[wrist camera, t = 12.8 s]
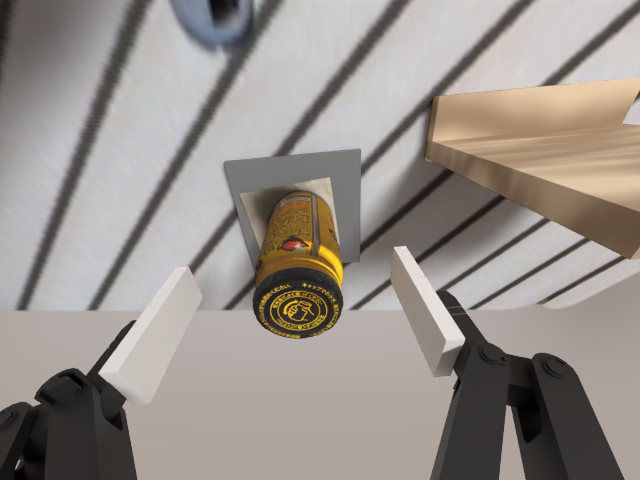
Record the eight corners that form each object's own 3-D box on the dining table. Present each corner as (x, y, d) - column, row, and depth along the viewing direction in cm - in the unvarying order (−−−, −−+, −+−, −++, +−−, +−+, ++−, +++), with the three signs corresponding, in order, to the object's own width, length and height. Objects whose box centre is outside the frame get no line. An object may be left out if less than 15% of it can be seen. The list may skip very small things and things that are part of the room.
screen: (433, 96, 19) (756, 90, 5) (631, 78, 19) (1470, 24, 5) (424, 159, 22) (625, 265, 8) (598, 144, 22) (1104, 222, 8)
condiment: (339, 242, 25) (361, 342, 15) (262, 255, 26) (232, 360, 15) (329, 176, 21) (349, 247, 11) (240, 192, 22) (179, 275, 12)
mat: (225, 161, 21) (223, 162, 20) (359, 148, 21) (360, 150, 20) (255, 267, 27) (254, 270, 27) (358, 258, 27) (359, 261, 27)
